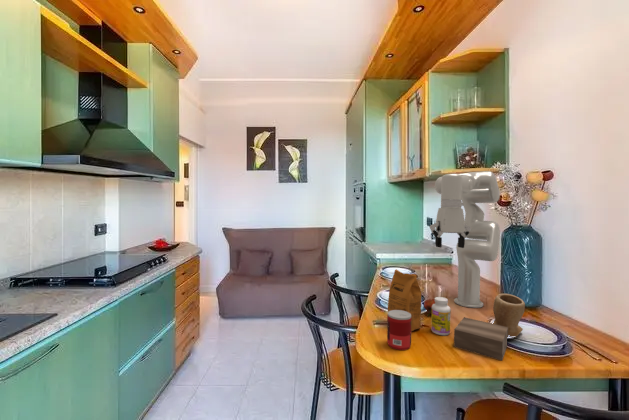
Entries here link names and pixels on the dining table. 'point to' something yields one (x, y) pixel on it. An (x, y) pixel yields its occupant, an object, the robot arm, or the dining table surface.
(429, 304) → the pomegranate
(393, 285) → the coffee package
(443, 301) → the supplement bottle
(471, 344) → the block
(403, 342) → the canned food
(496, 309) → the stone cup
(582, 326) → the dining table surface
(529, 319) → the dining table surface
